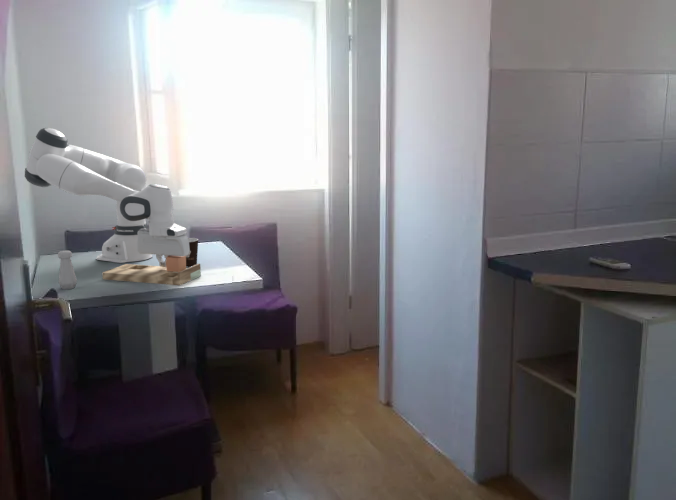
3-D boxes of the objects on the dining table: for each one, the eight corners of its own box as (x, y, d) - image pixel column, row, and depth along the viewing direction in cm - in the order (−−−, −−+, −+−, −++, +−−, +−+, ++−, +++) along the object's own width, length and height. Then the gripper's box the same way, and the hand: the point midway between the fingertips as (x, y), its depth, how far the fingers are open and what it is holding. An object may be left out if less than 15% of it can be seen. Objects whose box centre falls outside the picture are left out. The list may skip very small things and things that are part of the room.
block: (166, 270, 230) (166, 257, 228) (174, 267, 234) (173, 254, 233) (178, 272, 228) (178, 258, 227) (186, 268, 233) (185, 255, 232)
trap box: (102, 279, 229) (101, 267, 228) (126, 270, 242) (125, 258, 241) (180, 285, 220) (179, 272, 219) (200, 275, 233) (200, 263, 232)
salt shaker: (62, 285, 221) (58, 249, 218) (79, 285, 222) (75, 248, 219) (56, 290, 215) (52, 252, 213) (74, 289, 216) (70, 252, 213)
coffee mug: (203, 263, 252) (202, 238, 250) (192, 268, 244) (190, 242, 242) (178, 261, 256) (177, 237, 254) (166, 266, 248) (164, 241, 246)
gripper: (132, 229, 230) (134, 266, 232) (181, 232, 223) (183, 270, 226) (142, 226, 235) (145, 262, 238) (190, 229, 229) (192, 266, 232)
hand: (164, 266), depth 232 cm, fingers closed
